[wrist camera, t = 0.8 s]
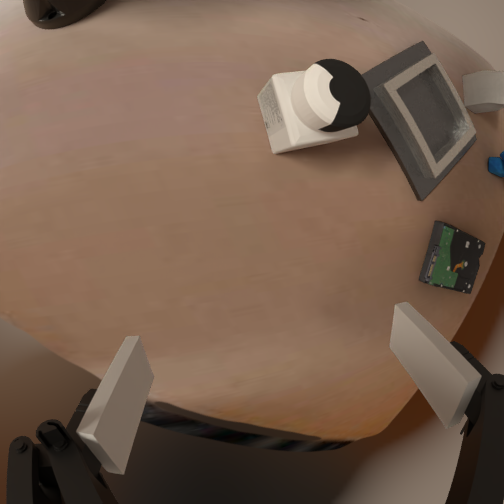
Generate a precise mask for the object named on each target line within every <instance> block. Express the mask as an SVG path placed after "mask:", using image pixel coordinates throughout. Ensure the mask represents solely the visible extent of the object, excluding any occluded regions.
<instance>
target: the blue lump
mask: <svg viewBox="0 0 504 504" xmlns="http://www.w3.org/2000/svg"><path fill="white" fill-rule="evenodd" d="M500 156H501V158H502V159H501V158H500V157H489V169H488V171H489V172H491V173H493V174H495V175H497V176H500V177H504V151H503V152H502V153H501V154H500Z"/></svg>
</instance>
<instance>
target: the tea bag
mask: <svg viewBox="0 0 504 504" xmlns="http://www.w3.org/2000/svg"><path fill="white" fill-rule="evenodd" d="M462 78H463V91H464V106H465V107H466V108H468V109H469V110H471V111H472V112H474V113H475V114H476V113H483V112H491V111H498V110H500V109H502V108H504V71H489V70H483V71H479V72H475V73H471V74H467V75H463V76H462Z"/></svg>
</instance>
